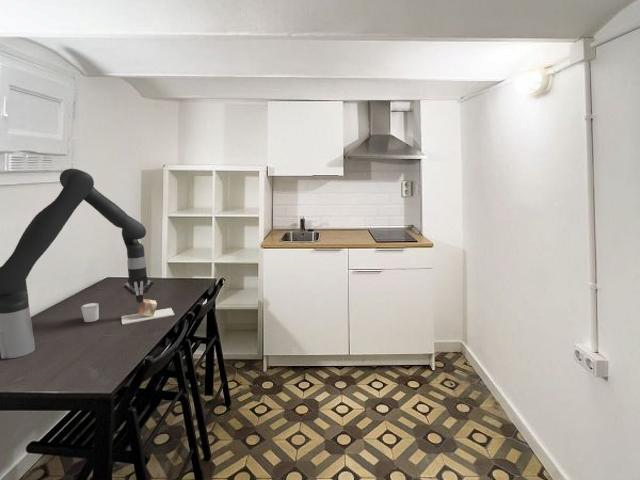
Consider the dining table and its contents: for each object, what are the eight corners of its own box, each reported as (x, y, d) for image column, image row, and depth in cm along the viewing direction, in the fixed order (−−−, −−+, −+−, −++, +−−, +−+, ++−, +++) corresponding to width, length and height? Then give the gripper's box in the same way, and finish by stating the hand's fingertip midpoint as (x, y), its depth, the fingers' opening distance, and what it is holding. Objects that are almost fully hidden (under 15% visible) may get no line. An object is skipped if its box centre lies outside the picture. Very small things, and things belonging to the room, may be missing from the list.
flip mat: (122, 324, 157) (122, 323, 157) (121, 317, 165) (121, 316, 165) (174, 315, 168) (174, 314, 168) (171, 308, 176) (171, 307, 176)
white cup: (94, 322, 159) (92, 308, 158) (79, 322, 159) (77, 307, 158) (103, 316, 166) (101, 302, 165) (89, 316, 166) (87, 302, 165)
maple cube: (143, 302, 162) (157, 304, 165) (142, 298, 167) (155, 300, 170) (139, 314, 162) (153, 316, 165) (138, 310, 167) (151, 312, 170)
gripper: (120, 270, 155) (124, 307, 157) (153, 266, 161) (156, 302, 164) (120, 266, 161) (123, 302, 164) (151, 263, 168) (154, 297, 170)
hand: (140, 302), depth 164 cm, fingers closed
